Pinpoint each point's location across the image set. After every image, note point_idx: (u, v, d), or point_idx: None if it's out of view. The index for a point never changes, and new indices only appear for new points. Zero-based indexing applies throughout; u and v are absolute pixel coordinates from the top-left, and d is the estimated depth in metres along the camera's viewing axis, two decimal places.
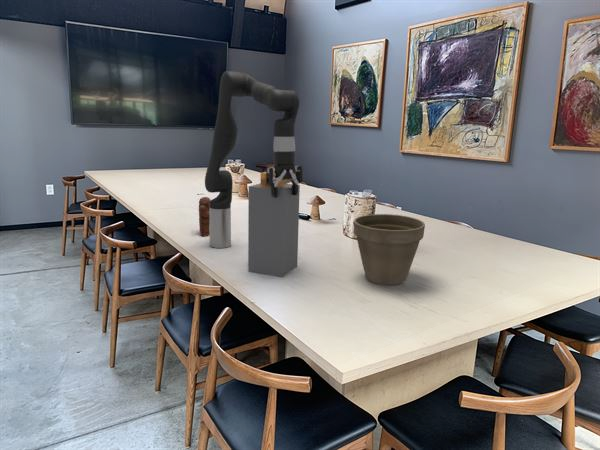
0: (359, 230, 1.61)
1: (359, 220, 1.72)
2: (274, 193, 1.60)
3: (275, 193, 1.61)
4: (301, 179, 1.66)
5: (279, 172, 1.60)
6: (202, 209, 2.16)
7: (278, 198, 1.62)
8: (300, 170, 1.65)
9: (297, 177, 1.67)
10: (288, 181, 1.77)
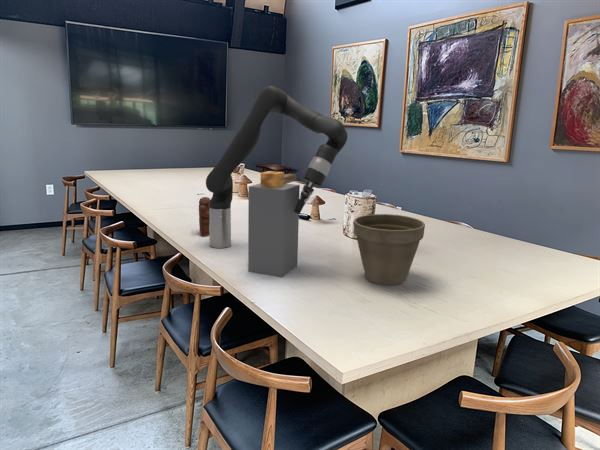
0: (359, 230, 1.61)
1: (359, 220, 1.72)
2: (301, 206, 1.63)
3: (301, 206, 1.63)
4: None
5: (311, 189, 1.66)
6: (202, 209, 2.16)
7: (278, 198, 1.62)
8: None
9: None
10: (288, 181, 1.77)
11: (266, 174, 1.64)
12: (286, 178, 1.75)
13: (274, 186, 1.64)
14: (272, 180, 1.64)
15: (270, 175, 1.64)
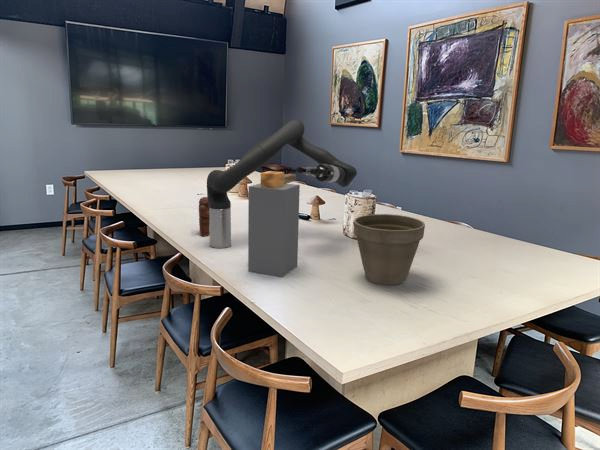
0: (359, 230, 1.61)
1: (359, 220, 1.72)
2: (318, 173, 1.85)
3: (317, 173, 1.85)
4: None
5: (323, 175, 1.92)
6: (202, 209, 2.16)
7: (278, 198, 1.62)
8: (305, 173, 1.97)
9: None
10: (288, 181, 1.77)
11: (266, 174, 1.64)
12: (286, 178, 1.75)
13: (274, 186, 1.64)
14: (272, 180, 1.64)
15: (270, 175, 1.64)
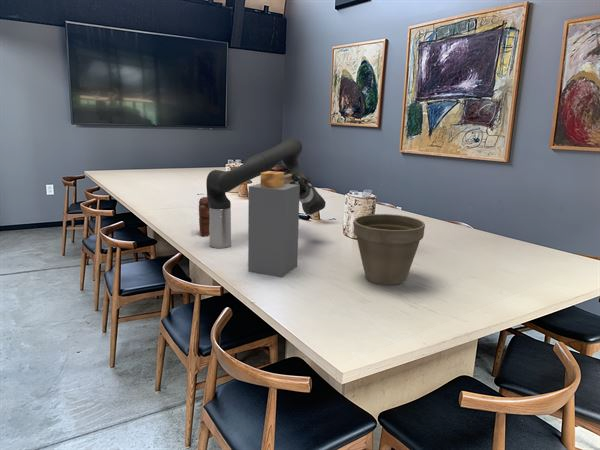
0: (359, 230, 1.61)
1: (359, 220, 1.72)
2: (295, 178, 1.81)
3: (294, 178, 1.81)
4: None
5: (301, 186, 1.87)
6: (202, 209, 2.16)
7: (278, 198, 1.62)
8: None
9: None
10: (288, 181, 1.77)
11: (266, 174, 1.64)
12: (286, 178, 1.75)
13: (274, 186, 1.64)
14: (272, 180, 1.64)
15: (270, 175, 1.64)
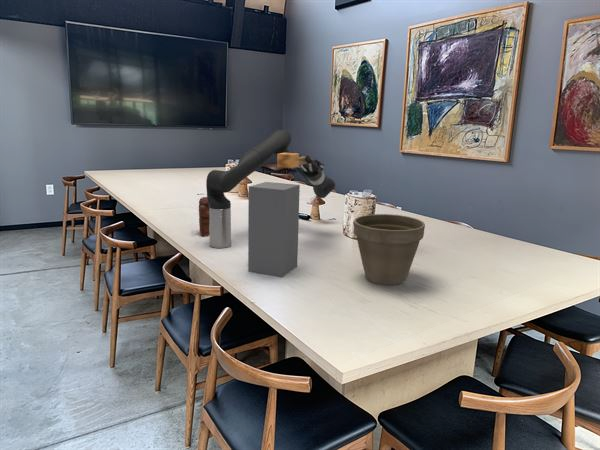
0: (359, 230, 1.61)
1: (359, 220, 1.72)
2: (308, 160, 1.91)
3: (307, 160, 1.91)
4: None
5: (314, 168, 1.98)
6: (202, 209, 2.16)
7: (278, 198, 1.62)
8: (296, 167, 2.00)
9: None
10: (302, 163, 1.88)
11: (282, 155, 1.75)
12: (300, 160, 1.86)
13: (290, 166, 1.75)
14: (288, 160, 1.75)
15: (286, 156, 1.75)
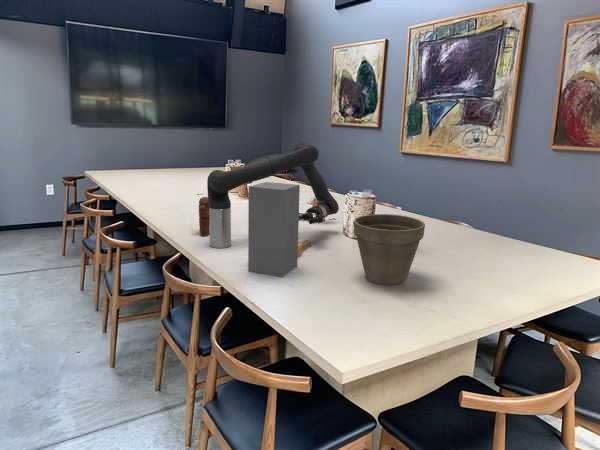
0: (359, 230, 1.61)
1: (359, 220, 1.72)
2: (312, 223, 2.00)
3: (311, 222, 2.00)
4: None
5: None
6: (202, 209, 2.16)
7: (278, 198, 1.62)
8: None
9: None
10: (305, 248, 2.03)
11: None
12: (303, 246, 2.01)
13: None
14: None
15: None
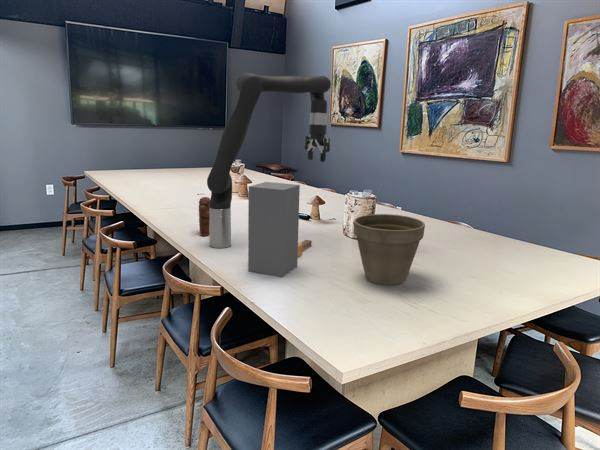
0: (359, 230, 1.61)
1: (359, 220, 1.72)
2: None
3: (324, 158, 2.04)
4: None
5: None
6: (202, 209, 2.16)
7: (278, 198, 1.62)
8: None
9: None
10: (305, 248, 2.03)
11: None
12: (303, 246, 2.01)
13: None
14: None
15: None
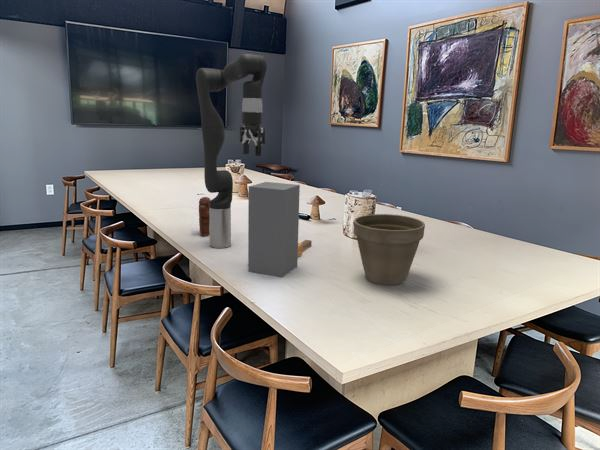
0: (359, 230, 1.61)
1: (359, 220, 1.72)
2: None
3: None
4: None
5: None
6: (202, 209, 2.16)
7: (278, 198, 1.62)
8: None
9: None
10: (305, 248, 2.03)
11: None
12: (303, 246, 2.01)
13: None
14: None
15: None
